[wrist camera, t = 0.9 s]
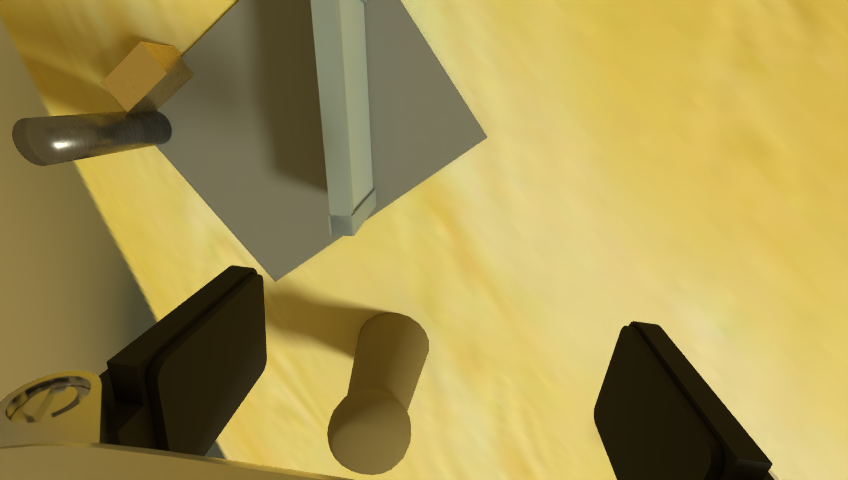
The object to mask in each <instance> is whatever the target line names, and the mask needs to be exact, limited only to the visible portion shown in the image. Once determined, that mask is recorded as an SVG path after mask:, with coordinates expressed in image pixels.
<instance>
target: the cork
mask: <svg viewBox="0 0 848 480" xmlns="http://www.w3.org/2000/svg"><path fill="white" fill-rule="evenodd" d="M428 351H429V340H428V338H427V335H426V332H425V331H424V329H423V328H422V327H421V326H420V325H419V323H417V322H416V321H414V320H413V319H411V318H410V317H408V316H404V315H401V314H398V313H384V314H380V315H376V316H374V317H373V318H371V319H370V320H368V321H367V322H366V323H365V324H364V326H363V327H362V328H361V331H360V334H359V337H358V342H357V348H356V353H355V358H354V363H353V368H352V374H351V379H350V384H349V389H348V394H347V396H346V397H345V398H344V399H343V400H342V401H341V402H340V404H339V405H338V406H337V407H336V408H335V410H334V411H333V414H332V416H331V419H330V422H329V426H328V434H327V435H328V443H329V447H330V450H331V452H332V454H333V456H334V457H335V459H336V460H337V461H338V462H339V463H340V464H341V465H342V466H344V467H346V468H347V469H349V470H351V471H354V472H357V473H360V474H368V475H375V474H381V473H384V472H387V471H389V470H391V469H392V468H393V467H395V466H396V465H397V464H398V463H399V462H400V461H401V460H402V459H403V457H404V455H405V453H406V451H407V448H408V446H409V444H410V438H411V423H410V417H409V415H408V413H407V411H408V408H409V405H410V402H411V399H412V397H413V394H414V391H415V388H416V385H417V382H418V379H419V377H420V374H421V371H422V368H423V365H424V362H425V360H426V357H427V354H428Z"/></svg>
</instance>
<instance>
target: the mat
mask: <svg viewBox="0 0 848 480" xmlns="http://www.w3.org/2000/svg"><path fill="white" fill-rule="evenodd" d="M364 19H365V39H366V59H367V79H368V99H369V119H370V139H371V159H372V179H373V189H376V207H375V208H374V209H373V211H372V212H371V213H370V215H369V216H368V217H367V219H368V218H370V217H371V216H373V215H374V214H376V213H377V212H379V211H380V210H382V209H383V208H384V207H386V206H387V205H389V204H390V203H392V202H393V201H395V200H396V199H398V198H399V197H401V196H402V195H404V194H405V193H407V192H408V191H409V190H411V189H412V188H414V187H415V186H417V185H418V184H420V183H421V182H423V181H424V180H426V179H427V178H429V177H430V176H431V175H433V174H434V173H436V172H437V171H439V170H440V169H442V168H443V167H445V166H446V165H448V164H449V163H451V162H452V161H453V160H455V159H456V158H458V157H459V156H461V155H462V154H464V153H465V152H467V151H468V150H470V149H471V148H473V147H474V146H476V145H477V144H478V143H480V142H481V141H483V140H484V139H486V138H487V136H486V134H485V133H484V131H483V130H482V128H481V126H480V125H479V123H478V122H477V120H476V119H475V117H474V115H473V114H472V112H471V111H470V109H469V108H468V106H467V104H466V103H465V101H464V100H463V98H462V97H461V95H460V93H459V92H458V90H457V89H456V87H455V86H454V84H453V82H452V81H451V79H450V78H449V76H448V75H447V73H446V71H445V70H444V68H443V67H442V65H441V64H440V62H439V60H438V59H437V57H436V56H435V54H434V53H433V51H432V49H431V48H430V46H429V45H428V43H427V42H426V40H425V38H424V37H423V35H422V34H421V32H420V31H419V29H418V27H417V26H416V24H415V23H414V21H413V20H412V18H411V16H410V15H409V13H408V12H407V10H406V9H405V7H404V5H403V4H402V2H401V1H400V0H367V4H364ZM181 59H182V60H183V61H184V63H185V64H186V65H187V66H188V68H189V69H190V70H191V71H192V72H193V74H194V76H193V77H192V78H191V79H190V80H189V81H188V82H187V83H186V84H185V85H184V86H183V87H181V88H180V89H179V90H178V91H177V92H176V93H175V94H174V95H173V96H172V97H171V98H170V99H169V100H168V101H167V102H166V103H165V104H164V105H163V106H161V107H160V108H159V109H158V110H157V111H159V112H161V113H162V114H164V115H165V116H166V117H167V119H168V120H169V122H170V124H171V128H172V135H171V138H170V139H169V141H168V142H166V143H164V144H160V145H156V146H157V147H158V149H159V150H160V151H161V152H162V153H163V154H164V155H165V157H166V158H167V159H168V160H169V161H170V162H171V163H172V165H173V166H174V167H175V168H176V169H177V170H178V171H179V173H180V174H181V175H182V176H183V177H184V178H185V179H186V181H187V182H188V183H189V184H190V185H191V186H192V187H193V189H194V190H195V191H196V192H197V193H198V194H199V195H200V197H201V198H202V199H203V200H204V201H205V202H206V203H207V205H208V206H209V207H210V208H211V209H212V210H213V211H214V212H215V214H216V215H217V216H218V217H219V218H220V219H221V220H222V222H223V223H224V224H225V225H226V226H227V227H228V228H229V230H230V231H231V232H232V233H233V234H234V235H235V236H236V238H237V239H238V240H239V241H240V242H241V243H242V244H243V246H244V247H245V248H246V249H247V250H248V251H249V252H250V254H251V255H252V256H253V257H254V258H255V259H256V260H257V262H258V263H259V264H260V265H261V266H262V267H263V268H264V270H265V271H266V272H267V273H268V274H269V275H270V276H271V278H272V279H273V280H274V281H275V282H276V281H277V280H279V279H280V278H282V277H283V276H285V275H286V274H288V273H289V272H291V271H292V270H293V269H295V268H296V267H298V266H299V265H301V264H302V263H304V262H305V261H307V260H308V259H310V258H311V257H313V256H314V255H315V254H317V253H318V252H320V251H321V250H323V249H324V248H326V247H327V246H329V245H330V244H332V243H333V242H335V241H336V240H338V239H339V238H340V237H342V236H343V235H330V228H329V217H328V215H329V214H330V210H329V199H328V188H327V177H326V165H325V154H324V143H323V132H322V121H321V110H320V99H319V88H318V77H317V66H316V55H315V44H314V33H313V22H312V11H311V0H239V1H238V2H237V3H236V4H235V5H234V6H233V7H232V8H231V9H230V10H229V11H228V12H227V13H226V14H225V15H224V16H223V17H222V18H221V19H220V20H219V21H218V22H217V23H216V24H215V25H214V26H213V27H212V28H211V29H210V30H209V31H208V32H207V33H206V34H205V35H204V36H203V37H202V38H201V39H200V40H199V41H197V42H196V43H195V44H194V45H193V46H192V47H191V48H190V49H189V50H188V51H187V52H186V53H185V54H184V55H183V56H182V57H181ZM367 219H366V220H367Z"/></svg>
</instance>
